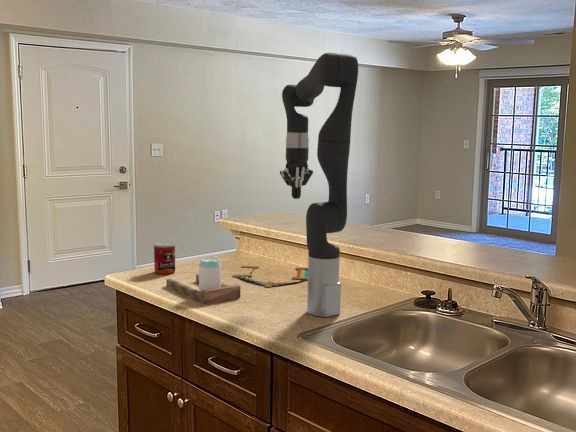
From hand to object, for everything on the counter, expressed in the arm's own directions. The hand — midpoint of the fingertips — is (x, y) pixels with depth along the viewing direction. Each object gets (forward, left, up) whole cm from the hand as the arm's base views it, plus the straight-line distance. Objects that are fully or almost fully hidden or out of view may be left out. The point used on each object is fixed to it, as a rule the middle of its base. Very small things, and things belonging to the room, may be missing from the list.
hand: (296, 198), depth 206 cm
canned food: (+45, +26, -31) cm, 61 cm away
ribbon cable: (+17, -3, -32) cm, 36 cm away
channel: (+14, +28, -31) cm, 44 cm away
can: (+8, +28, -31) cm, 43 cm away
